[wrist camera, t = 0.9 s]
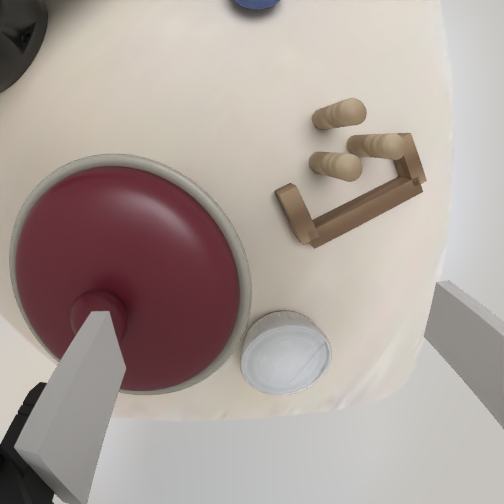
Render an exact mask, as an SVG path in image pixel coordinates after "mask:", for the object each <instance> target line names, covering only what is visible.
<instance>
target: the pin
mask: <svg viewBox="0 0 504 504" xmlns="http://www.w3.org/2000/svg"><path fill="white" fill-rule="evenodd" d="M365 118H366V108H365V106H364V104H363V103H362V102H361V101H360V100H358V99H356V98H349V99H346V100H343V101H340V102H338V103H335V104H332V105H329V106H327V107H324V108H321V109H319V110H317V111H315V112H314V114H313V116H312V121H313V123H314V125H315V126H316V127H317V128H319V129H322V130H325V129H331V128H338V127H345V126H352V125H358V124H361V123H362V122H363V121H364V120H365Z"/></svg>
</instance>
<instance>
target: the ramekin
mask: <svg viewBox="0 0 504 504" xmlns="http://www.w3.org/2000/svg"><path fill="white" fill-rule="evenodd" d="M331 357H332V350H331V346H330V343H329V341H328V339H327V337H326V336H325V335H324V333H323V332H322V331H321V330H319V329H318V328H317V327H316V326H315V325H314V324H313V323H312V322H311V321H310V320H309V319H308V318H306V317H305V316H303V315H301V314H298V313H296V312H292V311H280V312H274V313H271V314H268V315H266V316H264V317H262V318H261V319H259V320H258V321H257V322H255V323H254V325H253V326H252V327H251V328H250V329H249V331H248V333H247V335H246V337H245V342H244V348H243V350H242V353H241V359H240V364H241V371H242V374H243V376H244V378H245V380H246V381H247V382H248V383H249V384H250V385H251V386H252V387H253V388H255V389H257V390H259V391H261V392H263V393H267V394H271V395H288V394H293V393H297V392H300V391H302V390H305V389H307V388H309V387H310V386H312V385H313V384H315V383H316V382H317V381H318V380H319V379H320V378H321V377H322V376H323V375H324V374H325V372H326V371H327V369H328V367H329V365H330V362H331Z"/></svg>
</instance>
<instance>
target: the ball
mask: <svg viewBox="0 0 504 504" xmlns="http://www.w3.org/2000/svg"><path fill="white" fill-rule="evenodd" d="M234 1H235V2H236V3H238V4H239V5H241V6H243V7H245V8H248V9H254V10H260V9H266V8H269V7H271V6H273V5H275V4H276V3H277V2H279V1H280V0H234Z"/></svg>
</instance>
